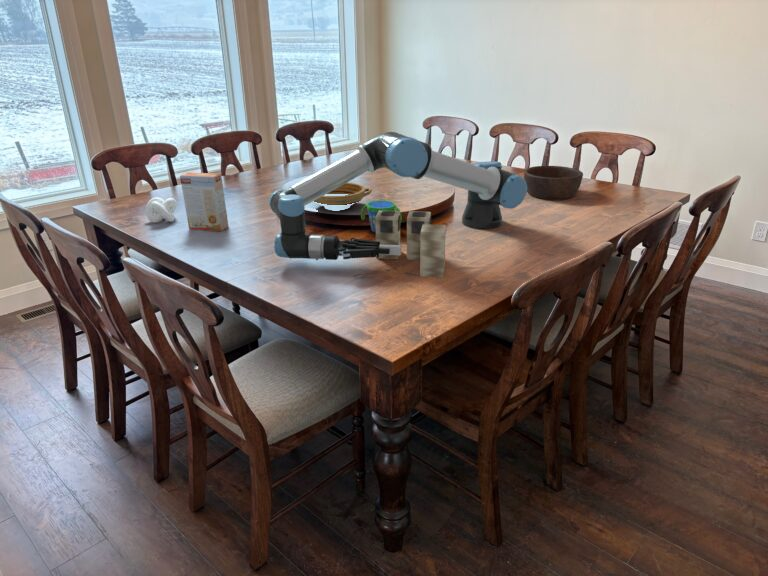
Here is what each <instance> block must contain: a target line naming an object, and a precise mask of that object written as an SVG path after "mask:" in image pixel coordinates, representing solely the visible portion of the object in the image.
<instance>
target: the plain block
mask: <svg viewBox="0 0 768 576" xmlns="http://www.w3.org/2000/svg"><path fill="white" fill-rule="evenodd" d="M446 233H447V225H446V224H431V225H428V224H423V225H422V229H421V242H420V260H419V263H420V264H419V269H420V270H419V276H420V277H437V278H444V274H445V269H446V268H445V266H446V265H445V264H446V263H445V262H446V260H445V259H446V237H447V236H446Z"/></svg>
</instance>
